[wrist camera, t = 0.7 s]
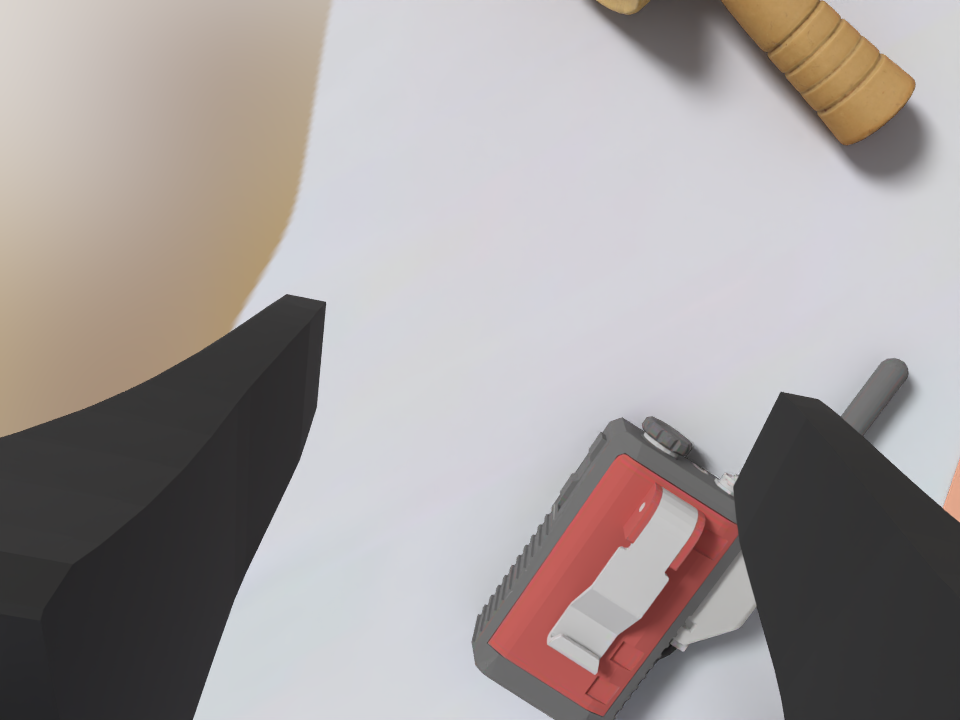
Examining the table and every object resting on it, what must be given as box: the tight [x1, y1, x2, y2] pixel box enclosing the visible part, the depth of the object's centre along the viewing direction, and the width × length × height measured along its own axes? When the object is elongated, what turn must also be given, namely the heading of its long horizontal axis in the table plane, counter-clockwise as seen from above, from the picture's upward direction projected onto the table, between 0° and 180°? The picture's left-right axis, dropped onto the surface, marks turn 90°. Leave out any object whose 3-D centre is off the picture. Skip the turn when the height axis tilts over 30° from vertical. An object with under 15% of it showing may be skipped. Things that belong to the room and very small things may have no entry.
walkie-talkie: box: [472, 358, 909, 720], centre depth 30 cm, size 9×4×20 cm
